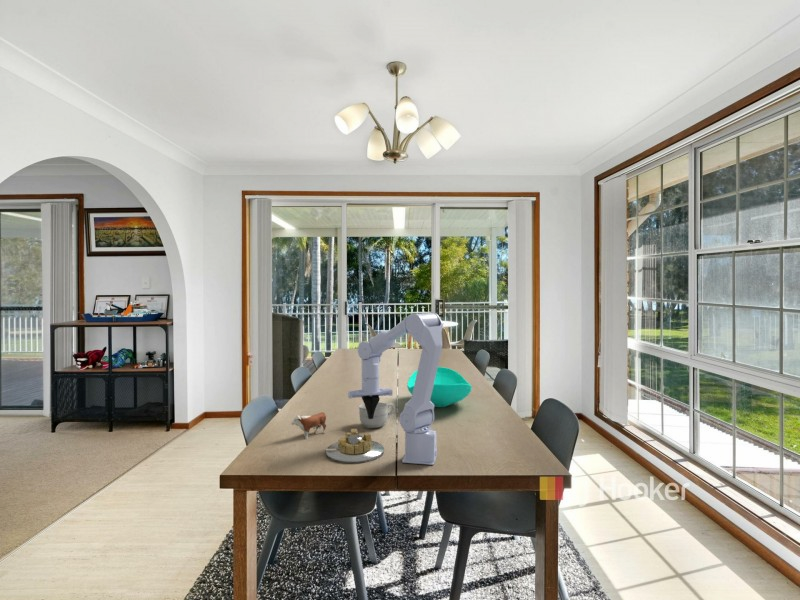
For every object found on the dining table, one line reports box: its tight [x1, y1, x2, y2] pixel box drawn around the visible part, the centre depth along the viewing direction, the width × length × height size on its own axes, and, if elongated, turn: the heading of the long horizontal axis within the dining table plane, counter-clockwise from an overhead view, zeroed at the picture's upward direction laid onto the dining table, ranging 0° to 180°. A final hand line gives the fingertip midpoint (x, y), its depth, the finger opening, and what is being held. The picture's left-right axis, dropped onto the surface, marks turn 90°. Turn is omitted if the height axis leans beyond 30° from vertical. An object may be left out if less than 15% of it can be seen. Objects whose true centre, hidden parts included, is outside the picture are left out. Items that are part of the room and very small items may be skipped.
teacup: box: [358, 401, 396, 429], centre depth 171 cm, size 14×11×8 cm
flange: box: [325, 434, 385, 464], centre depth 144 cm, size 18×18×5 cm
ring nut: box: [337, 428, 373, 454], centre depth 146 cm, size 10×14×3 cm
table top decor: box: [406, 366, 473, 408], centre depth 200 cm, size 40×28×13 cm
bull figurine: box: [291, 412, 327, 440], centre depth 160 cm, size 4×13×8 cm, turn 135°
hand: (370, 418), depth 152 cm, fingers closed
